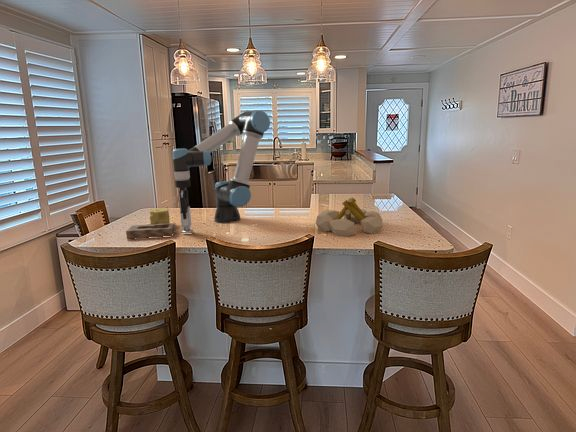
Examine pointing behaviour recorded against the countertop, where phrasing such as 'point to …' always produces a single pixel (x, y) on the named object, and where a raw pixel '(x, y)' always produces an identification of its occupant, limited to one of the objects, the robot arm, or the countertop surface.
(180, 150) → the robot arm
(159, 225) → the keyhole plate
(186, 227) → the peg
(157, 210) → the cheese
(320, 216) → the campfire
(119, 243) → the countertop surface
